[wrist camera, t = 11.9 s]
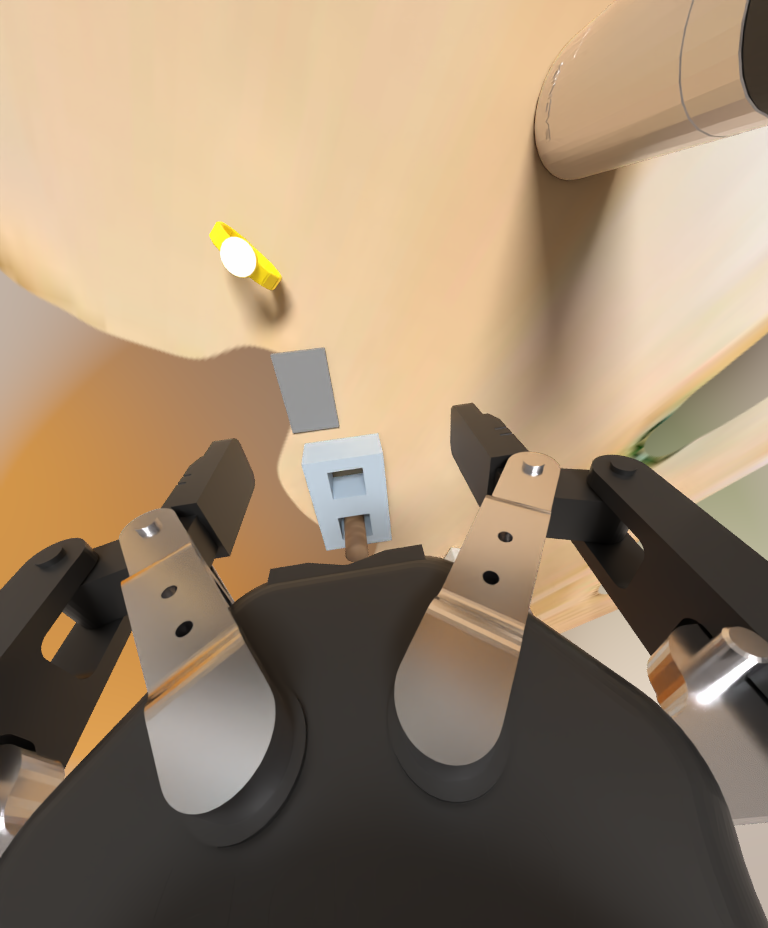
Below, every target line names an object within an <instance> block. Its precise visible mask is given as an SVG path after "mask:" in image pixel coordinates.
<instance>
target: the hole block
mask: <svg viewBox="0 0 768 928" xmlns="http://www.w3.org/2000/svg"><path fill="white" fill-rule="evenodd" d="M302 468H303V472H304V475H305V478H306V482H307V485H308V489H309V492H310V496H311V499H312V502H313V506H314V509H315V513H316V516H317V520H318V523H319V526H320V530H321V533H322V537H323V540H324V544H325V547H326V550H333V549H340V548H345V531H344V517H350V516H356V515H362V514H364V520H365V529H366V537H367V544H370V543H377V542H383V541H389V540H392V537H391V527H390V518H389V508H388V498H387V488H386V479H385V469H384V459H383V451H382V447H381V443H380V439H379V435H378V433H377V434H370V435H363V436H356V437H349V438H341V439H334V440H327V441H320V442H313V443H306V444H304V451H303V458H302ZM357 468H363V473H359V474H352V475H345V476H339V477H333V474H332V472H336V471H343V470H350V469H357Z"/></svg>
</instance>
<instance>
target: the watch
mask: <svg viewBox="0 0 768 928" xmlns="http://www.w3.org/2000/svg"><path fill="white" fill-rule="evenodd" d="M209 236H210V239H211V240H212V242H213V244H214V245H215V246H216V247H217V248H218V249H219V251H220V256H221V260H222V263H223V265H224V266H225V268H226V269H227V270H228V271H229V272H230V273H231V274H233V275H234V276H236V277H239V278H247V277H250V278H251V279H252V280H254V281H255V282H257V283H258V284H259V285H261V286H263V287H265V288H267V289H269V290H274V289H275V288H276V286H277V285H278V284H279V282H280V281H281V279H282V277H281V275H280V273H279V272H278V270H277V269H276V268H275V267H274V266H273V265H272V263H270V262H269V261H268V260H267V259H266V258H265V257H264V256H263V255H262V254H261V253H260V252H259V251H258V250H256V249H255V248H254V247H253V246H252V245H251V244H250V243H249V242H248V241H247V240H246V239H245V238H244V237H242V236H241V235H240V234H239V233H237V232H236V231H235V230H234V229H232V228H231V227H229V226H228V225H226V224H225V223H223V222H216V224H215V226H214V228H213V229H212V231H211V233H210V235H209Z"/></svg>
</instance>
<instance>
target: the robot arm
mask: <svg viewBox="0 0 768 928" xmlns="http://www.w3.org/2000/svg"><path fill="white" fill-rule="evenodd" d="M764 126H768V0H615V1H614V2H613V3H612V4H610V5H609V6H608V7H607V8H606V9H605V10H604V11H602V12H601V13H600V14H599V15H598V16H597V17H596V18H594V19H593V20H592V21H591V22H590V23H589V24H588V25H586V26H585V27H584V28H583V29H582V30H581V31H580V32H578V33H577V34H576V35H575V36H574V37H573V38H572V39H571V40H570V41H569V42H568V43H567V44H566V45H565V47H564V48H563V49H562V50H561V52H560V53H559V55H558V56H557V58H556V59H555V61H554V62H553V64H552V66H551V68H550V70H549V72H548V74H547V76H546V78H545V81H544V83H543V86H542V89H541V92H540V95H539V100H538V104H537V109H536V117H535V138H536V146H537V150H538V153H539V157H540V159H541V161H542V162H543V164H544V166H545V167H546V169H547V170H548V171H549V172H550V173H551V174H552V175H554V176H556V177H558V178H559V179H564V180H575V179H581V178H584V177H588V176H591V175H595V174H598V173H602V172H606V171H610V170H613V169H617V168H620V167H624V166H627V165H631V164H634V163H638V162H642V161H645V160H649V159H652V158H656V157H659V156H663V155H666V154H670V153H673V152H677V151H681V150H684V149H688V148H691V147H695V146H698V145H702V144H705V143H709V142H712V141H716V140H719V139H723V138H727V137H730V136H734V135H737V134H740V133H743V132H747V131H750V130H754V129H757V128H761V127H764ZM450 444H451V451H452V455H453V457H454V459H455V461H456V463H457V465H458V467H459V469H460V471H461V473H462V475H463V476H464V478H465V480H466V482H467V484H468V486H469V488H470V490H471V492H472V493H473V495H474V497H475V499H476V501H477V503H478V505H479V507H480V509H479V511H478V513H477V515H476V517H475V519H474V522H473V524H472V526H471V528H470V530H469V532H468V534H467V536H466V538H465V541H464V543H463V545H462V547H461V549H460V551H459V553H458V555H457V557H456V560H455V562H452V561H449V560H446V559H442V558H438V557H432V556H425V555H424V551H423V548H422V544H421V545H415V546H409V547H403V548H397V549H391V550H385V551H382V552H380V553H377V554H374V555H372V556H370V557H367V558H364V559H362V560H359V561H357V562H354V563H352V564H349V565H332V564H316V563H305V564H299V565H293V566H287V567H280V568H275V569H271V570H270V574H269V578H268V582H267V583H265V584H262V585H260V586H258V587H256V588H254V589H253V590H251V591H249V592H248V593H246V594H245V595H244V596H242V597H241V598H239V599H238V600H237V601H236V602H234V600H233V599H232V597H231V595H230V594H229V592H228V590H227V589H226V587H225V586H224V584H223V582H222V580H221V579H220V577H219V575H218V574H217V572H216V570H215V569H214V567H213V566H212V563H213V561H214V559H215V558H221V557H227V556H230V554H231V552H232V549H233V546H234V543H235V540H236V537H237V535H238V532H239V529H240V526H241V524H242V521H243V518H244V515H245V512H246V510H247V507H248V504H249V501H250V498H251V496H252V493H253V490H254V486H255V479H254V474H253V471H252V469H251V467H250V465H249V462H248V460H247V458H246V456H245V453H244V451H243V449H242V447H241V444H240V443H239V441H238V440H237V439H235V438H233V439H227V440H220V441H214V442H212V444H211V445H210V447H209V448H208V450H207V451H206V453H205V454H204V456H202V457H200V458H199V459H198V460H196V461H195V462H194V463H193V464H192V465H190V466H189V468H188V469H187V471H186V472H185V474H184V475H183V476H184V477H182V478H181V479H180V481H179V482H178V485H177V486H176V487H175V488H174V490H173V491H172V493H171V494H170V496H169V497H168V498H167V500H166V501H165V503H164V504H163V506H162V507H161V509H156V510H153V511H150V512H147V513H145V514H143V515H141V516H139V517H137V518H136V519H134V520H133V521H131V522H130V523H129V524H128V525H127V526H126V527H125V528H124V529H123V530H122V532H121V534H120V536H119V540H116V541H113V542H110V543H108V544H105V545H103V546H99V547H96V548H94V549H92V548H91V547H90V546H89V545H88V544H87V543H86V542H85V541H84V540H83V539H81V538H71V539H67V540H64V541H60V542H58V543H56V544H53V545H51V546H49V547H47V548H45V549H44V550H42V551H40V552H39V553H37V554H36V555H34V556H33V557H32V558H31V559H29V560H28V561H27V562H26V563H25V564H24V565H23V566H22V567H21V568H20V569H19V571H18V572H17V573H16V574H15V575H14V576H13V577H12V578H11V579H10V580H9V581H8V582H7V584H6V585H5V586H4V587H3V588H2V589H1V590H0V928H768V921H767V918H766V916H765V914H764V911H763V909H762V907H761V904H760V902H759V899H758V897H757V895H756V892H755V890H754V887H753V884H752V881H751V879H750V876H749V873H748V870H747V867H746V865H745V862H744V859H743V855H742V852H741V848H740V845H739V841H738V837H737V834H736V831H735V827H734V826H735V825H745V824H756V823H766V822H768V561H767V560H766V559H764V558H763V557H762V556H761V555H759V554H758V553H757V552H756V551H754V550H753V549H752V548H751V547H749V546H748V545H747V544H745V543H744V542H743V541H742V540H740V539H739V538H738V537H737V536H735V535H734V534H733V533H731V532H730V531H729V530H728V529H727V528H725V527H724V526H723V525H721V524H720V523H719V522H718V521H716V520H715V519H714V518H713V517H711V516H710V515H709V514H708V513H706V512H705V511H704V510H702V509H701V508H700V507H699V506H697V505H696V504H695V503H694V502H692V501H691V500H690V499H689V498H687V497H686V496H685V495H684V494H682V493H681V492H680V491H679V490H677V489H676V488H675V487H673V486H672V485H671V484H670V483H668V482H667V481H666V480H665V479H663V478H662V477H661V476H660V475H658V474H657V473H656V472H655V471H653V470H652V469H651V468H649V467H648V466H647V465H645V464H644V463H642V462H640V461H638V460H635V459H632V458H629V457H625V456H620V455H604V456H600V457H597V458H596V459H594V460H593V462H592V465H591V468H590V470H579V469H562V468H560V466H559V464H558V463H557V461H555V460H554V459H553V458H551V457H549V456H547V455H545V454H541V453H537V452H529V451H528V450H527V449H526V448H525V447H524V445H523V444H522V443H521V442H520V441H519V440H518V439H517V438H516V437H515V436H514V434H512V432H511V431H510V430H509V429H508V428H506V426H505V425H504V423H503V422H502V421H501V420H500V419H498V418H496V417H494V416H492V415H490V414H482V413H481V412H480V410H479V409H478V408H477V407H476V406H475V404H474V403H468V404H461V405H455V406H452V408H451V436H450ZM628 529H630V530H631V531H632V533H633V534H634V535H635V536H636V537H637V538H638V539H639V540H640V542H641V544H642V546H643V548H644V550H643V549H642V548H641V547H640V546H639V545H638V544H637V543H636V542H635V540H634V539H633V538H632V537H631V536H630V535H629V534H628V533H627V531H628ZM545 538H556V539H566V540H571V541H572V543H573V544H574V546H575V547H576V548H577V550H578V551H579V553H580V554H581V556H582V557H583V558H584V560H585V561H586V563H587V564H588V566H589V567H590V569H591V570H592V571H593V573H594V574H595V576H596V577H597V579H598V580H599V582H600V583H601V584H602V586H603V587H604V589H605V590H606V592H607V593H608V595H609V596H610V597H611V599H612V600H613V602H614V603H615V605H616V606H617V608H618V609H619V610H620V612H621V613H622V615H623V616H624V618H625V619H626V620H627V622H628V623H629V625H630V626H631V628H632V629H633V631H634V632H635V634H636V635H637V636H638V638H639V639H640V641H641V642H642V644H643V645H644V646H645V648H646V649H647V651H648V652H649V654H650V655H651V657H650V658H649V660H648V663H647V672H648V677H649V680H650V683H651V685H652V687H653V689H654V691H655V693H656V697H657V701H658V703H659V705H660V706H661V707H660V706H659V705H658V704H657V703H656V702H655V701H653V700H652V699H651V698H650V697H648V696H647V695H646V694H644V693H643V692H642V691H641V690H639V689H638V688H637V687H635V686H634V685H632V684H631V683H629V682H628V681H626V680H625V679H624V678H622V677H621V676H619V675H618V674H617V673H615V672H614V671H612V670H611V669H609V668H608V667H607V666H605V665H604V664H602V663H601V662H599V661H598V660H597V659H595V658H594V657H592V656H591V655H589V654H588V653H586V652H585V651H584V650H582V649H581V648H579V647H578V646H577V645H575V644H573V643H572V642H571V641H569V640H568V639H566V638H565V637H564V636H562V635H561V634H559V633H558V632H557V631H555V630H554V629H552V628H551V627H549V626H548V625H547V624H545V623H544V622H542V621H541V620H539V619H538V618H537V617H535V616H534V615H532V614H531V613H529V612H528V611H529V606H530V602H531V598H532V594H533V589H534V585H535V581H536V576H537V572H538V568H539V563H540V559H541V555H542V551H543V546H544V542H545ZM61 612H63V613H65V614H66V615H67V616H69V617H70V618H71V619H73V620H74V621H75V622H76V624H75V625H74V627H73V628H72V630H71V631H70V633H69V635H68V636H67V637H66V639H65V641H64V642H63V644H62V645H61V647H60V648H59V650H58V652H57V653H56V655H55V656H54V658H53V659H52V661H51V662H49V661H48V660H46V659H45V658H44V657H43V655H42V652H41V645H42V641H43V639H44V637H45V635H46V634H47V632H48V631H49V629H50V628H51V627H52V625H53V624H54V622H55V621H56V620H57V618H58V617H59V615H60V614H61ZM131 631H132V632H133V636H134V640H135V643H136V647H137V651H138V655H139V659H140V663H141V667H142V671H143V675H144V679H145V683H146V686H147V691H148V692H147V693H146V694H145V695H144V696H143V697H142V698H141V700H140V701H139V702H138V703H137V704H136V705H135V706H134V707H133V708H132V709H131V710H130V711H129V712H128V713H127V714H126V715H125V716H124V717H123V718H122V720H120V721H119V723H118V724H117V725H116V726H115V727H114V728H113V729H112V730H111V731H110V732H109V733H108V734H107V735H106V736H105V737H104V738H103V739H102V740H101V741H100V742H99V743H98V744H97V746H96V747H95V748H94V749H93V750H92V751H91V752H90V753H89V754H88V755H87V756H86V757H85V758H84V759H83V760H82V761H81V762H80V763H79V764H78V766H76V768H75V769H74V770H73V771H72V772H71V773H70V774H69V775H68V776H67V777H66V778H65V779H64V776H65V774H64V769H65V767H66V765H67V763H68V761H69V759H70V757H71V755H72V753H73V751H74V749H75V747H76V745H77V742H78V740H79V738H80V736H81V734H82V732H83V730H84V728H85V726H86V724H87V722H88V720H89V718H90V716H91V714H92V712H93V710H94V707H95V705H96V703H97V701H98V699H99V697H100V695H101V693H102V691H103V689H104V687H105V685H106V683H107V681H108V679H109V677H110V675H111V672H112V670H113V668H114V666H115V664H116V662H117V660H118V658H119V656H120V654H121V652H122V650H123V648H124V646H125V644H126V642H127V639H128V637H129V635H130V633H131Z"/></svg>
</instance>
